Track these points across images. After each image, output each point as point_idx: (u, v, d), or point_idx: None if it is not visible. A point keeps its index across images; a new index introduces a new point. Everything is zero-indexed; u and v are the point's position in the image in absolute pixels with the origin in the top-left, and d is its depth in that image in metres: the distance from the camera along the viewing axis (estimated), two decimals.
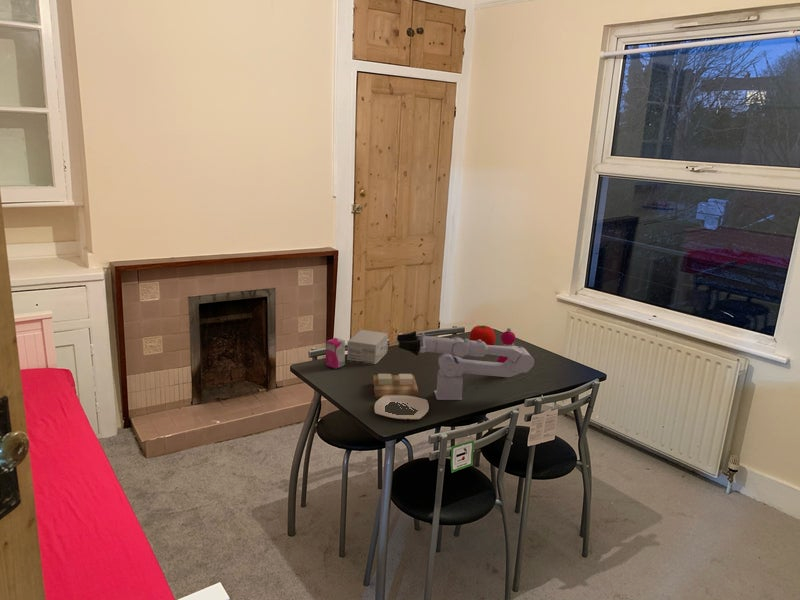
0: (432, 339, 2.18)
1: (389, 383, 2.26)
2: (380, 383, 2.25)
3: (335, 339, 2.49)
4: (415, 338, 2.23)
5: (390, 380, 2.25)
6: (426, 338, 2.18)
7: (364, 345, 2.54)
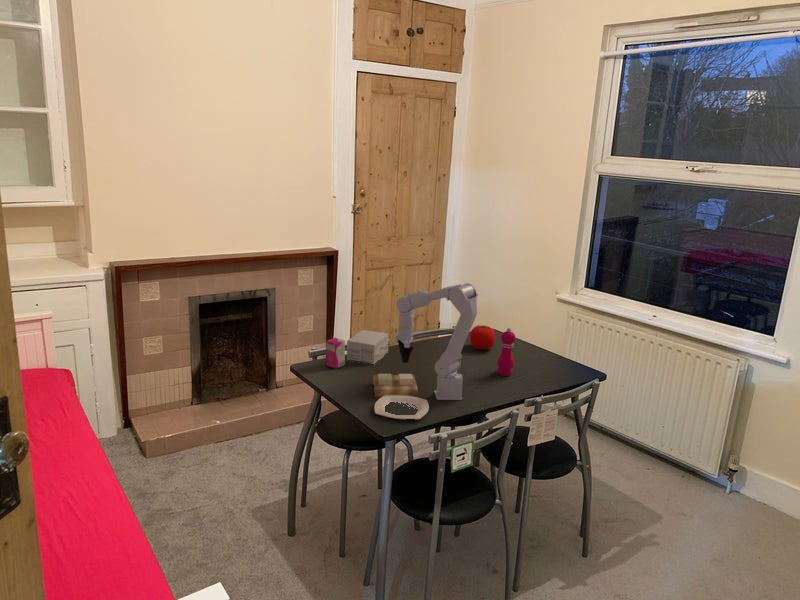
0: (399, 330, 2.30)
1: (389, 383, 2.26)
2: (380, 383, 2.25)
3: (335, 339, 2.49)
4: None
5: (390, 380, 2.25)
6: (399, 335, 2.31)
7: (363, 345, 2.54)
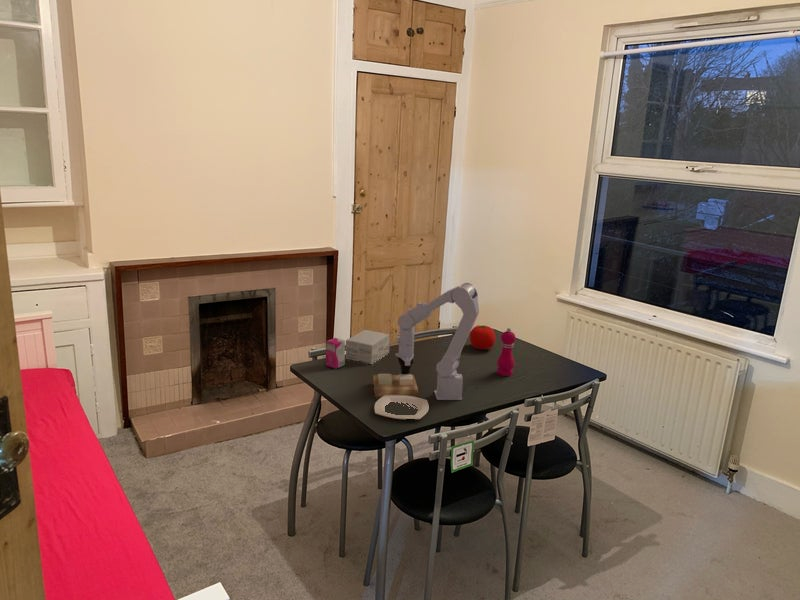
0: (400, 347, 2.27)
1: (389, 383, 2.26)
2: (380, 383, 2.25)
3: (335, 339, 2.49)
4: None
5: (390, 380, 2.25)
6: (399, 353, 2.27)
7: (361, 345, 2.54)
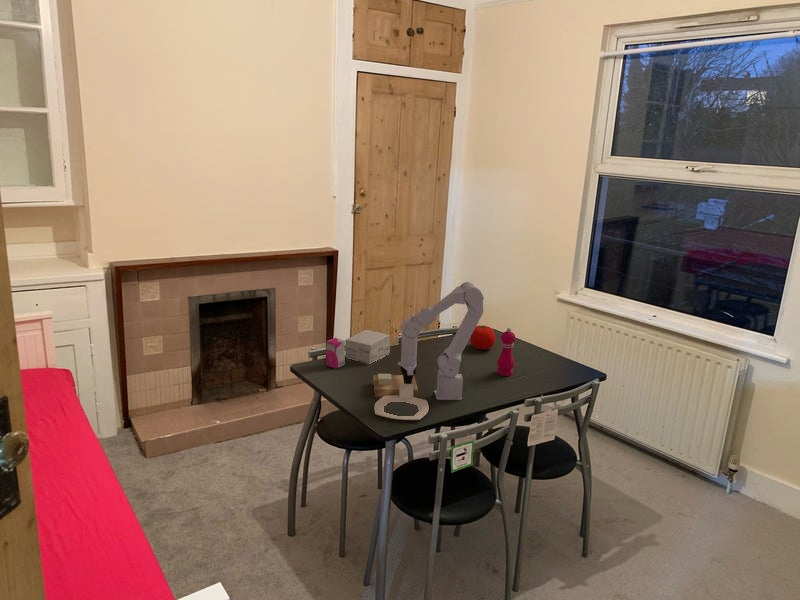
0: (402, 356, 2.18)
1: (389, 383, 2.26)
2: (380, 383, 2.25)
3: (335, 339, 2.49)
4: None
5: (390, 380, 2.25)
6: (402, 361, 2.18)
7: (360, 345, 2.54)
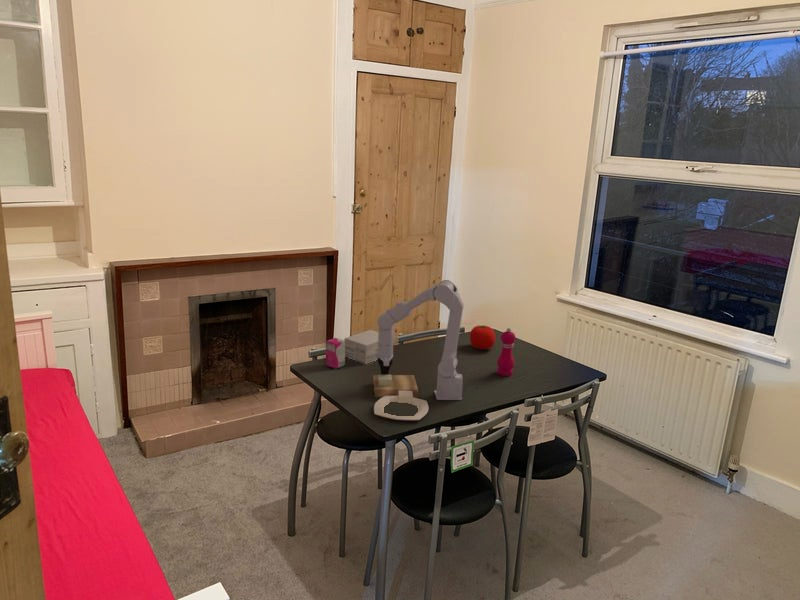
0: (379, 347, 2.25)
1: (389, 384, 2.25)
2: (380, 384, 2.24)
3: (335, 339, 2.49)
4: None
5: (390, 381, 2.24)
6: (378, 353, 2.26)
7: (357, 344, 2.55)
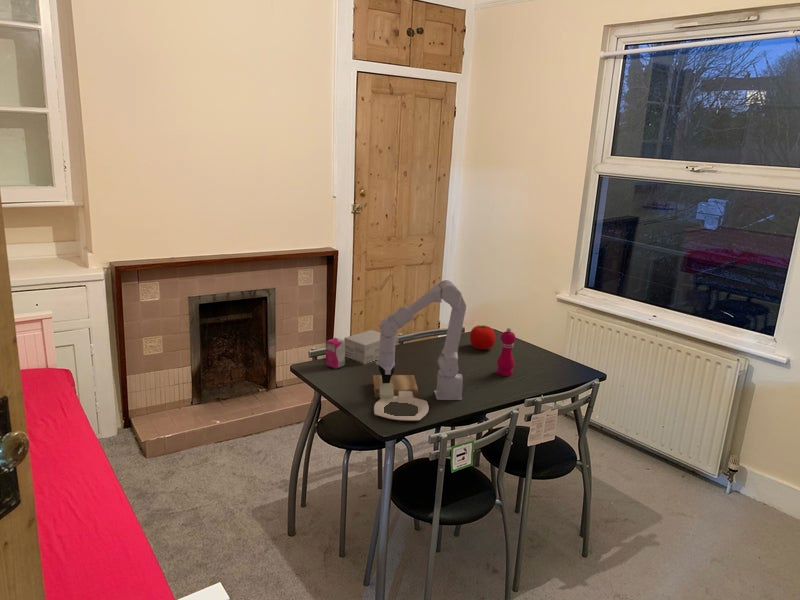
0: (380, 355, 2.17)
1: (390, 397, 2.18)
2: (381, 397, 2.18)
3: (335, 339, 2.49)
4: None
5: (392, 395, 2.18)
6: (380, 361, 2.18)
7: (356, 344, 2.55)
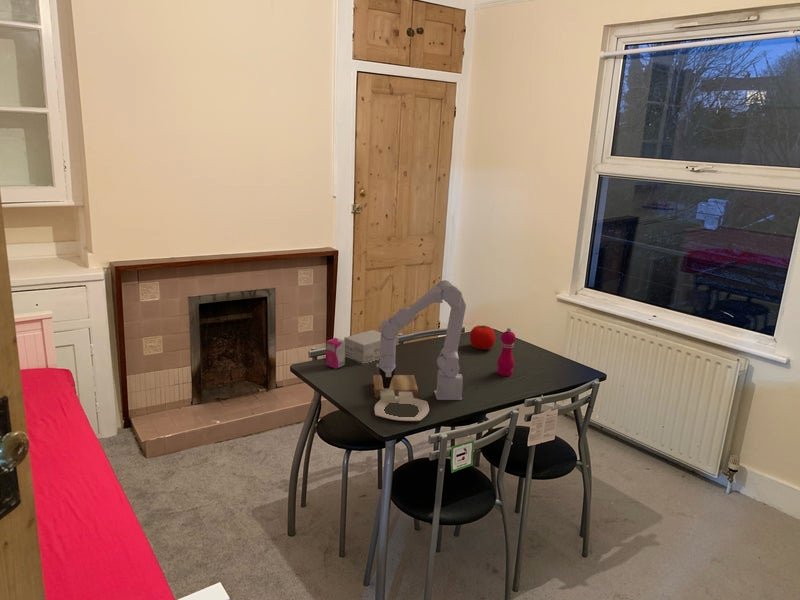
0: (381, 357, 2.15)
1: (392, 400, 2.16)
2: (382, 400, 2.16)
3: (335, 339, 2.49)
4: None
5: (393, 397, 2.16)
6: (380, 363, 2.16)
7: (355, 344, 2.55)
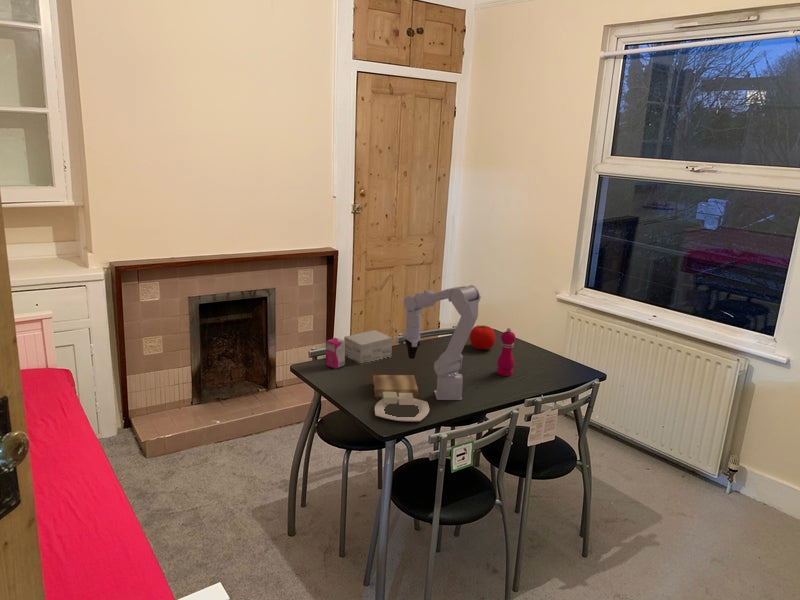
0: (407, 329, 2.31)
1: (394, 402, 2.15)
2: (385, 402, 2.14)
3: (335, 339, 2.49)
4: None
5: (396, 399, 2.14)
6: (406, 335, 2.32)
7: (354, 343, 2.56)
